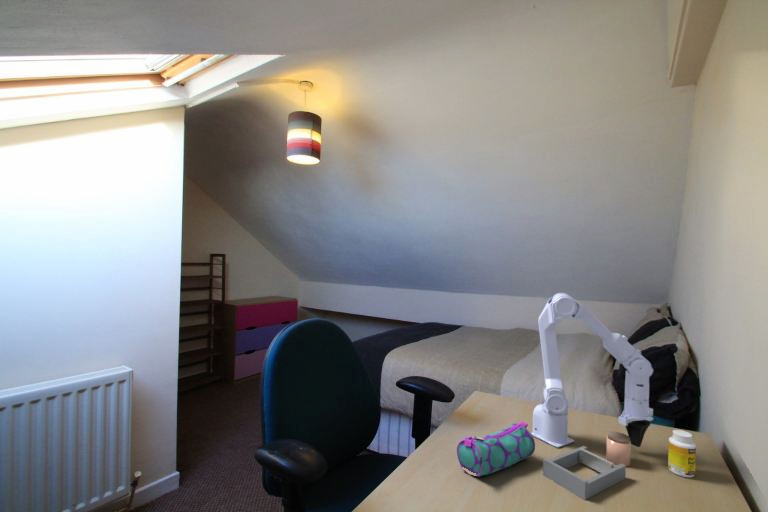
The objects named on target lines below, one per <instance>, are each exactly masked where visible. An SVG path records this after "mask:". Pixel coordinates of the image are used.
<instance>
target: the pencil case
mask: <svg viewBox="0 0 768 512" xmlns="http://www.w3.org/2000/svg"><path fill="white" fill-rule="evenodd" d="M528 425H529V424H528V423H527V422H525V421H523V420H522V421H521V422H520V423H512V424H510V425H509V426H507V427H506V428H505V429H501V430H498V431H495V432H492V433H489V434H487V435H484V436H483V437H479V436H476V435H473V436H466V437H464V438H463V439H460V441H459V442H458V443H457V447H456V454H457V455H456V456H457V459H458V462H459V465H460V467H461V468H462V467H464V468H466V469H468V470H469V471H471V472H473V473H476V475H477V477H481V476H487V475H491V474H493V473H495V472H498V471H500V470H503V469H507V468H508V467H510V466H513V465H515V464H517V463H519V462H521V461H523V460H525V459H528V458H530V457H532V455H534V453H535V450H536V442H535V439H534V436H533V435H532V434H531V433H532V432H531V431H529V430H528V429H527V427H528Z"/></svg>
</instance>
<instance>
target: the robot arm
mask: <svg viewBox="0 0 768 512" xmlns="http://www.w3.org/2000/svg"><path fill="white" fill-rule="evenodd" d="M570 317H572V318H573V319H575V320H578V321H582V322H583V323H585V324H586V325H587V326H588V327H589V328H590V329H591V330H592V331H593V332H594V333H595V334H597V336H599V337H600V338H601V339H602V347H603V348H604V349H605V350H606V351H607V352H608V353H609V354H610V355H611V356H612V357H614V359H615V360H616V361H618V362H619V363H620V364H621V365H622V366H623V367H624V369H626V370H625V380H624V408H623V410H622V413H621V414H620V415H619V416H618V424H619V425H622V426H624V427H625V429H626V431H627V436H629V437H630V441H631V446H635V447H636V448H639V447H641V446H642V443H643V441H644V436H645V433H646V431H647V430H648V429H649V427H650V426H651V422H652V421H653V420H654V417H653V415H654V409H653V408H651V407H650V404H649V403H650V400H649V399H650V378H651V376H652V375H653V374H654V368H653V366H652V364H651V362H650V361H649V360H648V359H647V358H645V357H644V356H643V355H642V351H641V350H640V349H639V348H638V349H637V348H635V347H634V346H633V345H632V344H631V343H629V341H628V340H629V339H628V338H627V336H626V335H623V334H622V335H621V334H620V332H619V333H618V332H611V331H610V330H609V329H608V328H607V327H606V325H605V324H603V323H602V322H601V321H600V320H599V318H597V317H596V316H595V315H594V313H593V312H592V311H591V310H590V309H588V308H587V307H586V306H584V305H583V304H582V303H580V302H578V300H576V299H574V297H572V296H571V295H570V294H568V293H566V292H557V293H555V294H554V295H552V296H551V297H550V298H549V299H548V300H547V302H546V304H545V305H544V308H543V310H542V312H541V313H540V314H539V316H538V321H537V322H538V332H539V340H540V341H539V342H540V347H541V358H542V364H543V366H542V367H543V374H544V387H543V389H542V395H543V398H544V403H543V404H542V403H541V404H540V403H539V404H537V405H536V406H535V407H534V409H533V410H532V411H533V412H532V432H530V433H531V434H532V436H533V437H535V438H537V439H539V440H541V441H543V442H545V443H547V444H549V445H551V446H553V447H555V448H557V449H559V448H561V447H564V446H566V445H570V444H571V443H574V442H575V440H574V439H573V438H570V437H569V436H568V432H569V428H568V426H569V424H568V423H569V401H568V398H567V396H566V395H565V394H566V393H565V390H564V387H563V382H562V375H561V365H560V357H559V350H558V341H557V332H556V326H558V325H559V324H560V323H561V322H562V321H564V320H565V319H568V318H570Z"/></svg>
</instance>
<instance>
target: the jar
mask: <svg viewBox="0 0 768 512" xmlns="http://www.w3.org/2000/svg"><path fill="white" fill-rule="evenodd" d="M631 448H632V444H631V441H630V437H629V436H628V434H625V433H623V432H619V431H608V432H607V435H606V452H605V455H606V457H605V459H606V460H608V461H610V462H612V463H614V466H617V465H620V464H624V465H626V468H628V467H630V466H631V457H632V455H631V452H632V451H631V450H632V449H631Z"/></svg>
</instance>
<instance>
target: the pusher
mask: <svg viewBox="0 0 768 512" xmlns="http://www.w3.org/2000/svg"><path fill="white" fill-rule="evenodd" d="M579 462H580V464H583V465H585V466H587V467H588V468H590V469H593V470H595V471H597V472H599V474H601V473H603V472H605V471H607V470H609V469H611V468H613V467H615V465H614V463H612V462H610V461H608V460H607V459H606V458H603V457H601V456H600V455H597V454H595V453H592V452H590V451H589V450H588V449H587V450H585V449H583V448H581V449H579Z"/></svg>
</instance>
